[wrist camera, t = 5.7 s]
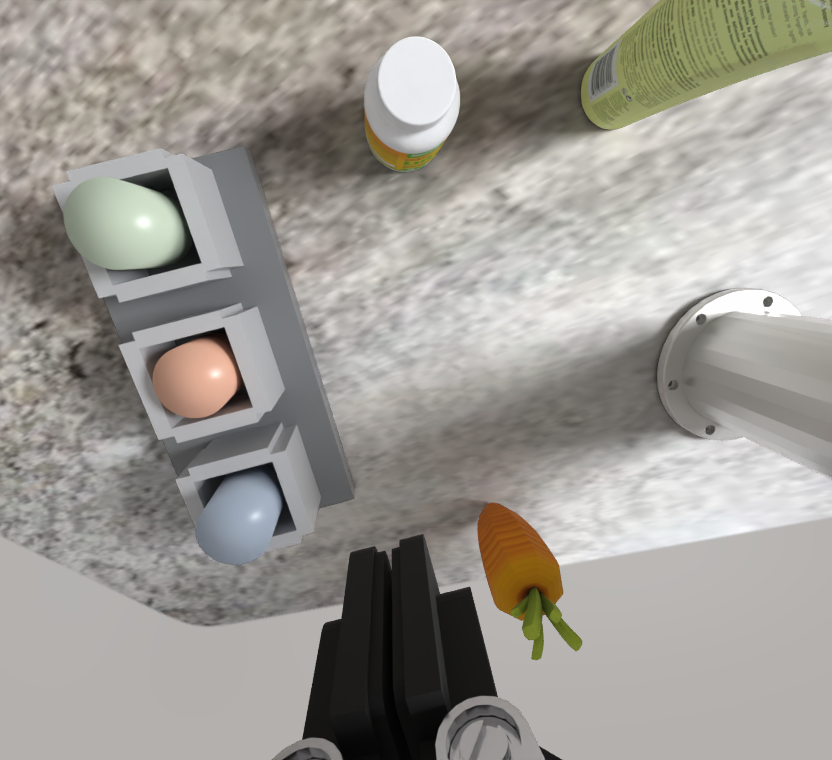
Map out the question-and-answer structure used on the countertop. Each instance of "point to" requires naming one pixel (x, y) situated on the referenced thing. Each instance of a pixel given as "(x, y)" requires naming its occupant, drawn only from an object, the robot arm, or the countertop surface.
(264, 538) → the button slate
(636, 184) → the countertop surface
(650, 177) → the countertop surface
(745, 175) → the countertop surface
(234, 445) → the three-cup grey tray
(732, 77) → the tube
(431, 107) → the supplement bottle
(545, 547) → the carrot
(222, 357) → the button terracotta
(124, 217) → the button sage
